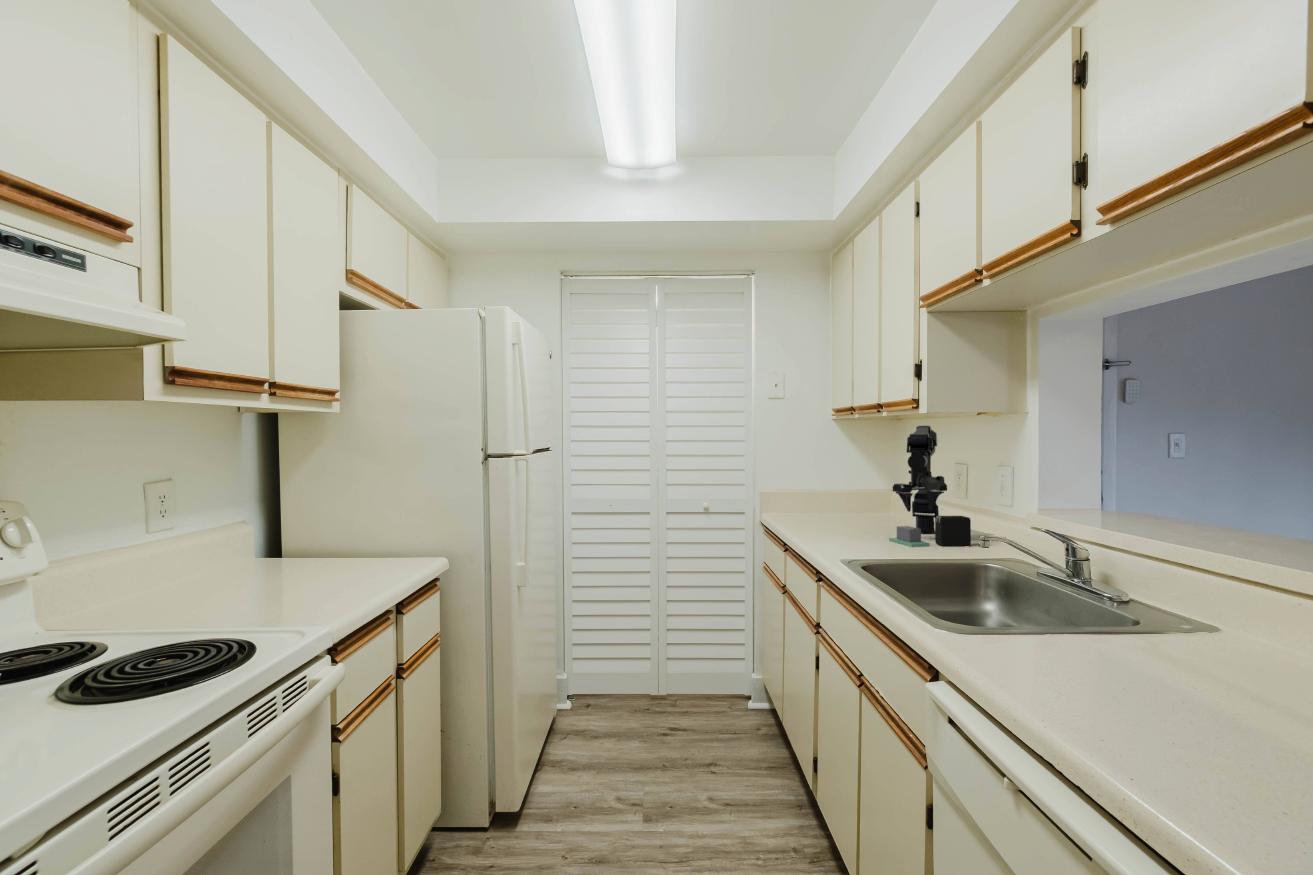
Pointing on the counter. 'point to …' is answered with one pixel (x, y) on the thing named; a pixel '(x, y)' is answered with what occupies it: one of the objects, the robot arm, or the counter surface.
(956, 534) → the electronic device
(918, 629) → the counter surface
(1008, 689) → the counter surface
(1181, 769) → the counter surface
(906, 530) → the block
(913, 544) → the header board
